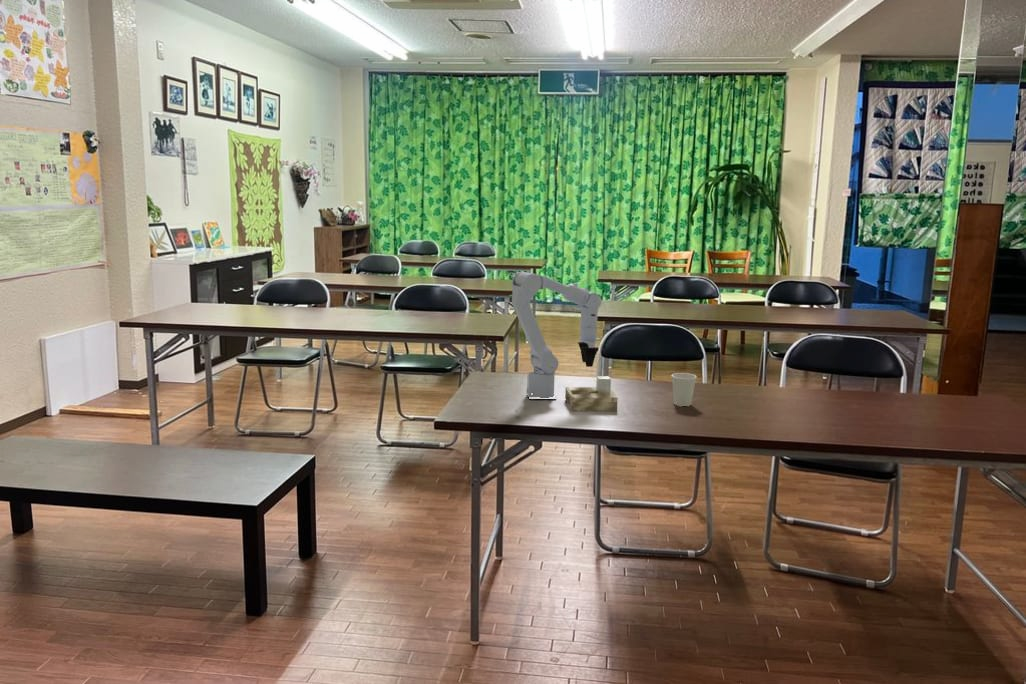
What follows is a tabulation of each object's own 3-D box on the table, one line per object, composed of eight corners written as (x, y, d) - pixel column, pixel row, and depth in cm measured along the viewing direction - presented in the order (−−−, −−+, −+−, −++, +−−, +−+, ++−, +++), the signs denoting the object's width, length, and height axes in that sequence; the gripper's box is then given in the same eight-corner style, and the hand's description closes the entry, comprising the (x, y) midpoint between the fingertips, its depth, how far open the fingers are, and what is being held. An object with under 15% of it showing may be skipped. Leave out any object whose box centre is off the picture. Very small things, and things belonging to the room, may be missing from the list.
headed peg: (597, 405, 256) (598, 378, 255) (595, 402, 260) (596, 376, 259) (609, 405, 257) (610, 378, 255) (607, 402, 261) (608, 376, 259)
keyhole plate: (571, 411, 251) (571, 397, 250) (565, 400, 264) (565, 387, 264) (617, 410, 252) (617, 397, 251) (608, 400, 266) (609, 387, 265)
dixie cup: (697, 407, 257) (699, 378, 256) (672, 407, 258) (673, 378, 256) (692, 401, 266) (693, 373, 264) (667, 401, 266) (669, 372, 264)
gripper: (604, 329, 264) (602, 368, 266) (596, 323, 278) (595, 360, 281) (583, 329, 263) (582, 368, 266) (576, 322, 278) (575, 360, 280)
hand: (587, 364), depth 273 cm, fingers open, 7 cm apart
